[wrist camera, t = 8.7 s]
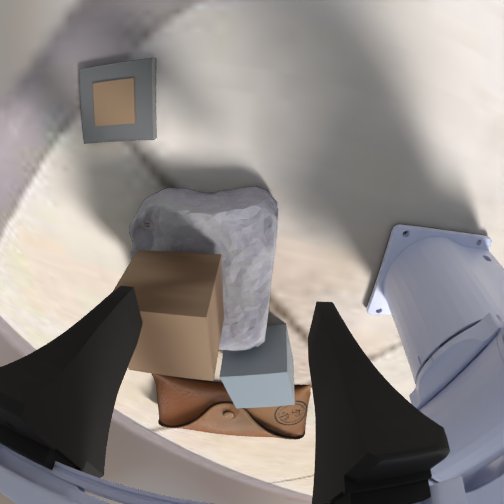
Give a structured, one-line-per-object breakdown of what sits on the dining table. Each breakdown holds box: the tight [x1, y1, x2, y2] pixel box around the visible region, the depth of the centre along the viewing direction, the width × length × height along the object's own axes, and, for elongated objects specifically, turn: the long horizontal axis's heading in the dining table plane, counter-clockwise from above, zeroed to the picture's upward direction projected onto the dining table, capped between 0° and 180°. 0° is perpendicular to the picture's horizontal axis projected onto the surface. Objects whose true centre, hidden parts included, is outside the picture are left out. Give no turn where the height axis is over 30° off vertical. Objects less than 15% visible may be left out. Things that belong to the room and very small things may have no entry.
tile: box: [80, 58, 157, 144], centre depth 16 cm, size 5×5×1 cm
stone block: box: [129, 187, 278, 351], centre depth 21 cm, size 12×5×10 cm
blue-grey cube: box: [220, 324, 295, 408], centre depth 25 cm, size 5×5×5 cm
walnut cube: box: [114, 250, 224, 381], centre depth 17 cm, size 5×5×5 cm
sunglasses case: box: [152, 373, 312, 439], centre depth 32 cm, size 18×7×7 cm
